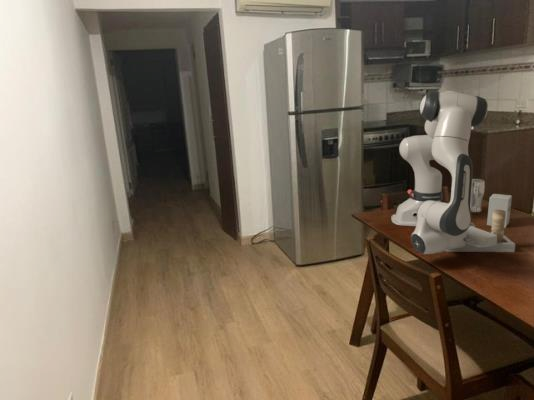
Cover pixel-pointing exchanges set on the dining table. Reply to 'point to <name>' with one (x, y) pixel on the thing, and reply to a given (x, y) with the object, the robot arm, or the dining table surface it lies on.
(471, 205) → the beer glass
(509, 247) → the board
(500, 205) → the supplement box
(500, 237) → the peg
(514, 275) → the dining table surface
